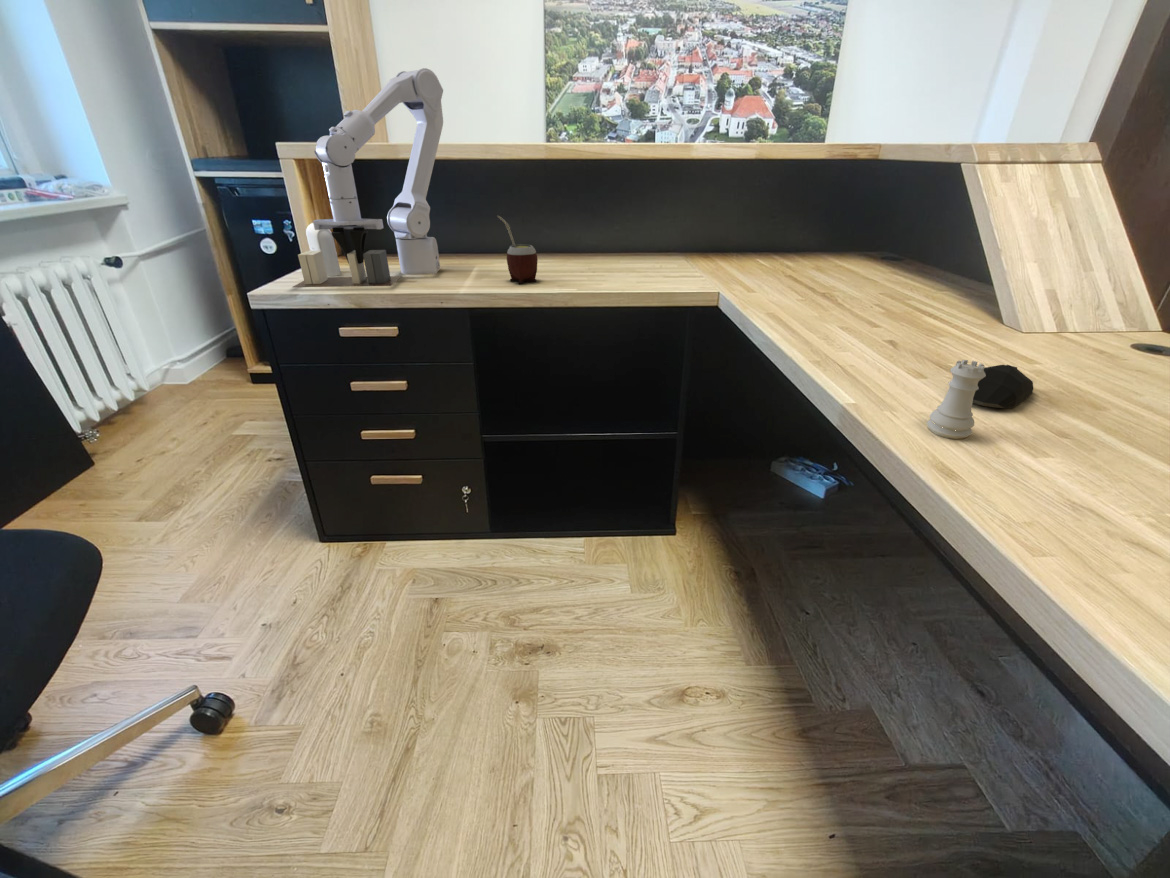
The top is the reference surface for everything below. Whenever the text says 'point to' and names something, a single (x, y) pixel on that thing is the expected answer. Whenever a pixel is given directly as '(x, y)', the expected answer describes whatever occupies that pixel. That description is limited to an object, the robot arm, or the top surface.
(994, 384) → the gaming mouse
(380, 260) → the grey books
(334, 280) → the shelf board
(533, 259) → the mate gourd
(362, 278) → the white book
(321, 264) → the beige books
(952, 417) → the rook chess piece
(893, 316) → the top surface
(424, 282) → the top surface
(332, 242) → the photo printer
